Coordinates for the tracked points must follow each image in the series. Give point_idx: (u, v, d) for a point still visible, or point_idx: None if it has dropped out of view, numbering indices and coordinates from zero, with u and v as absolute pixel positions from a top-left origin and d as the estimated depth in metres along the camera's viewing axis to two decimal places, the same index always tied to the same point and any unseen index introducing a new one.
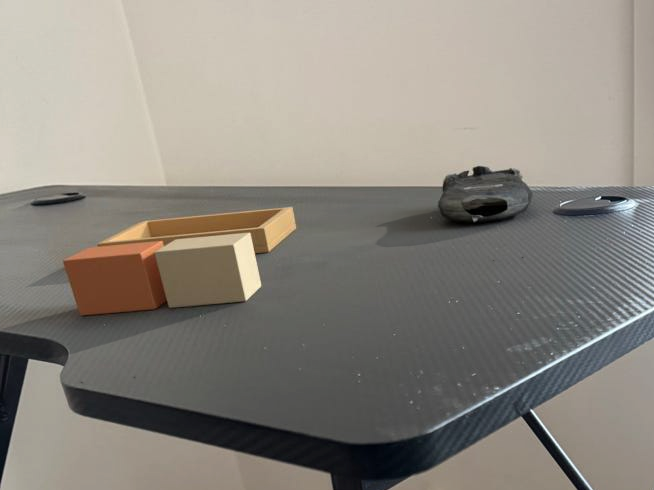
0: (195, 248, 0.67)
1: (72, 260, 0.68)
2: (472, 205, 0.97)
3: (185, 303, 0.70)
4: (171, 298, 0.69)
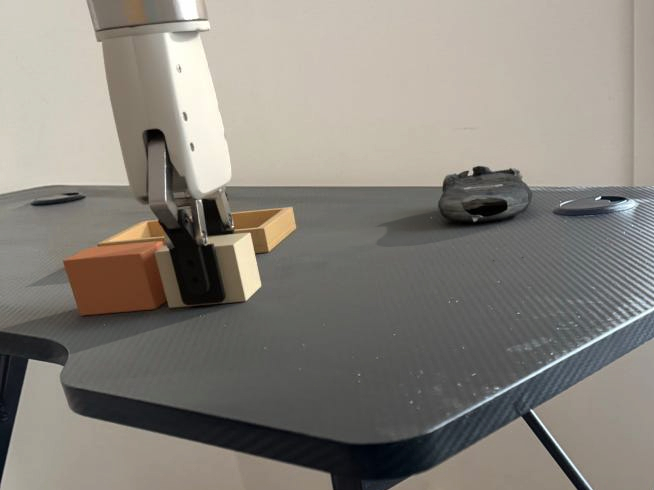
0: None
1: (72, 260, 0.68)
2: (472, 205, 0.97)
3: None
4: (171, 298, 0.69)
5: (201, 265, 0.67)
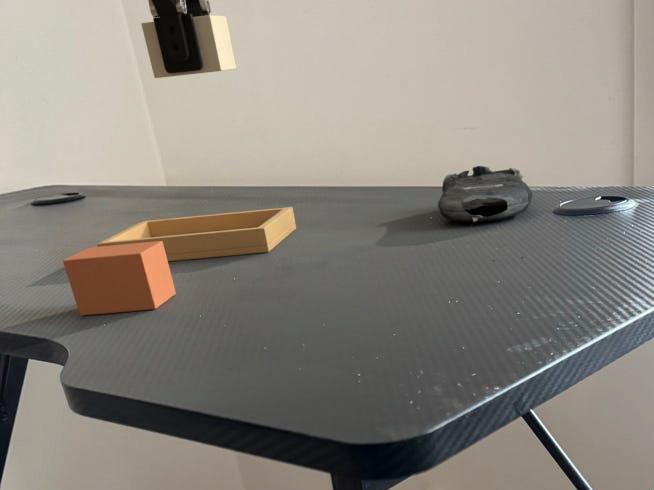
0: None
1: (72, 260, 0.68)
2: (472, 205, 0.97)
3: (168, 73, 0.80)
4: (156, 68, 0.80)
5: (181, 32, 0.77)
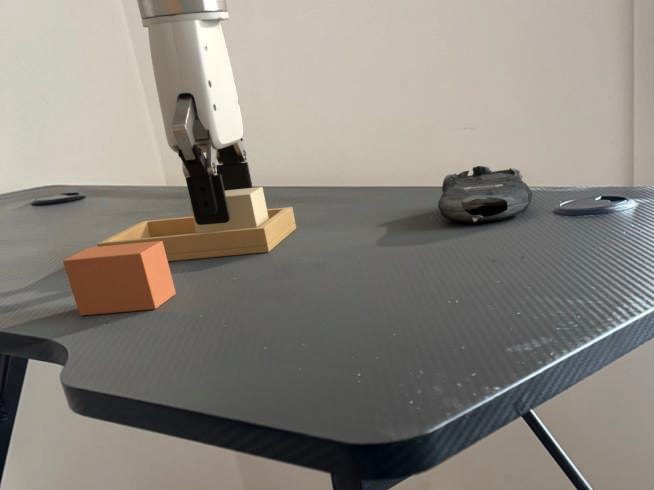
0: None
1: (72, 260, 0.68)
2: (472, 205, 0.97)
3: None
4: None
5: (211, 191, 0.84)
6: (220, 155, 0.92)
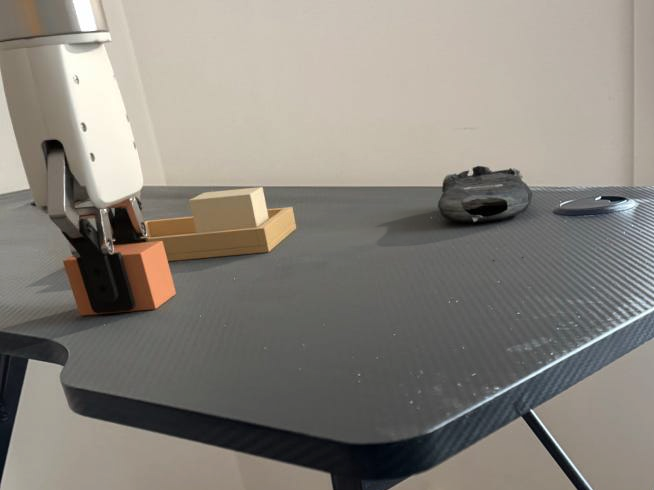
0: (220, 197, 0.88)
1: (72, 260, 0.68)
2: (472, 205, 0.97)
3: None
4: None
5: (107, 274, 0.67)
6: (111, 225, 0.72)
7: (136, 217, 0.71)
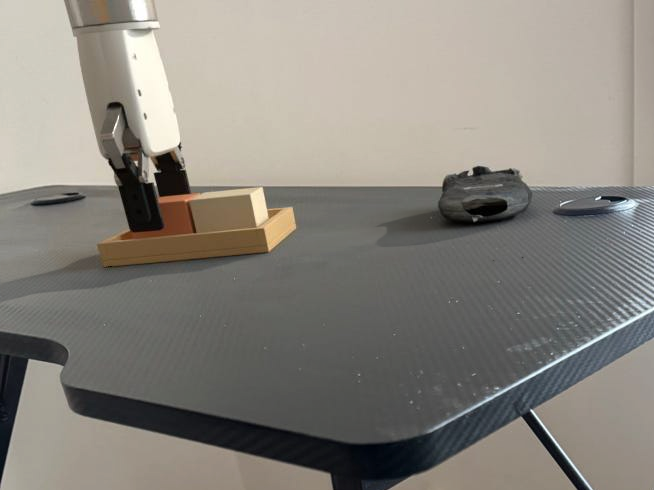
0: (220, 197, 0.88)
1: None
2: (472, 205, 0.97)
3: None
4: None
5: (143, 199, 0.85)
6: (158, 163, 0.93)
7: (178, 153, 0.92)
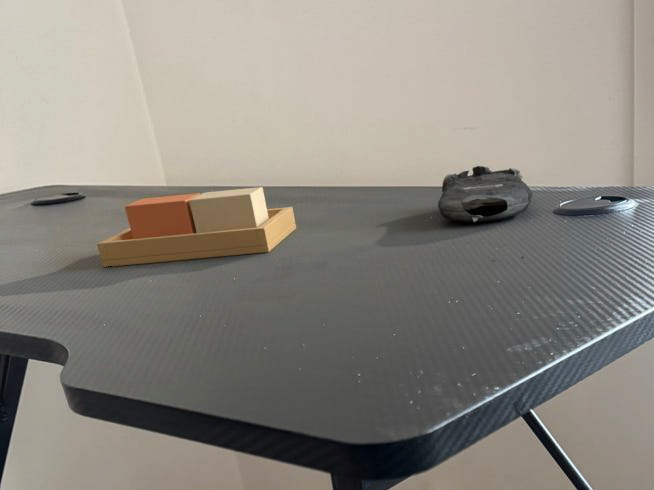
0: (220, 197, 0.88)
1: (132, 206, 0.88)
2: (472, 205, 0.97)
3: None
4: None
5: None
6: None
7: None
